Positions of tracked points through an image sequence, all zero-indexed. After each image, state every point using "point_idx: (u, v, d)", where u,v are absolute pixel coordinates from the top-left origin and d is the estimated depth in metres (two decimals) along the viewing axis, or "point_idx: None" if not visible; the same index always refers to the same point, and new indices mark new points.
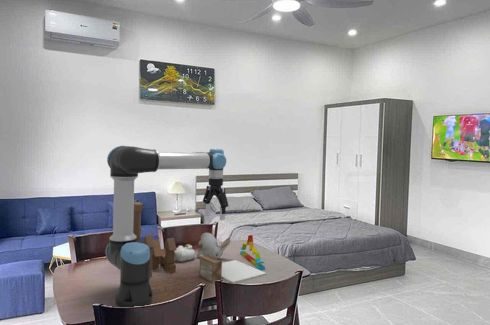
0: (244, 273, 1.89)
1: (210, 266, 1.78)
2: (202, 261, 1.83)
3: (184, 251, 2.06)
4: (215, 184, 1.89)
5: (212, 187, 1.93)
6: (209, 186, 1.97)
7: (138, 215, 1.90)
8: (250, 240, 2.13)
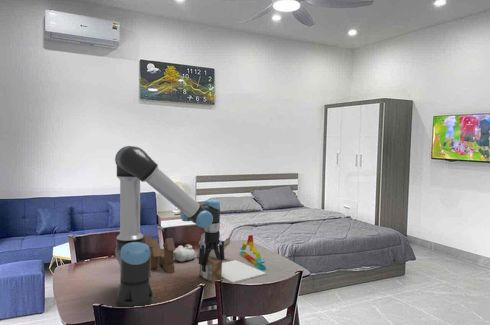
0: (244, 273, 1.89)
1: (210, 266, 1.78)
2: None
3: (184, 251, 2.06)
4: None
5: None
6: (220, 240, 1.86)
7: None
8: (250, 240, 2.13)
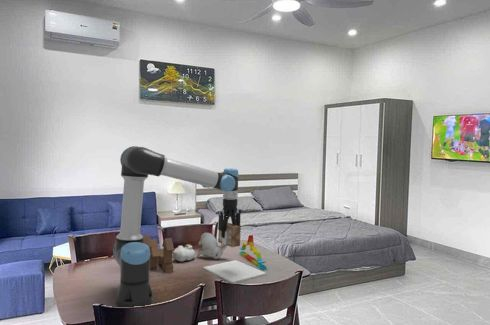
0: (244, 273, 1.89)
1: (229, 231, 1.84)
2: None
3: (184, 251, 2.06)
4: None
5: None
6: (237, 209, 1.92)
7: None
8: (250, 240, 2.12)
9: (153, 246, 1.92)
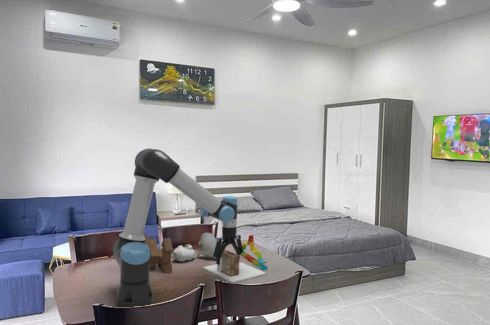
0: (244, 273, 1.89)
1: (228, 260, 1.85)
2: None
3: (184, 251, 2.06)
4: (222, 231, 1.89)
5: None
6: (236, 235, 1.93)
7: None
8: (251, 240, 2.12)
9: (152, 246, 1.92)
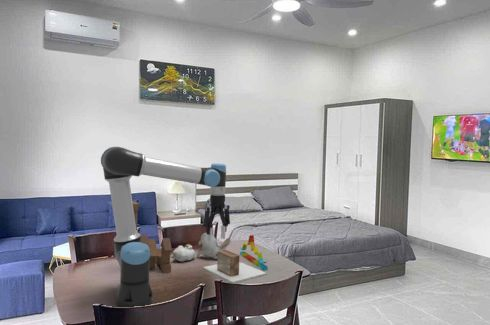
0: (244, 273, 1.89)
1: (228, 260, 1.85)
2: (220, 256, 1.90)
3: (184, 251, 2.06)
4: (210, 200, 1.83)
5: None
6: (225, 205, 1.87)
7: (134, 215, 1.91)
8: (251, 240, 2.12)
9: (151, 246, 1.93)
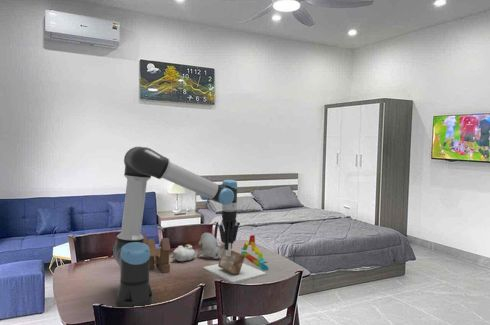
0: (244, 273, 1.89)
1: (233, 257, 1.87)
2: (225, 252, 1.92)
3: (184, 251, 2.06)
4: (222, 216, 1.88)
5: None
6: (236, 221, 1.92)
7: None
8: (252, 240, 2.13)
9: (150, 246, 1.93)
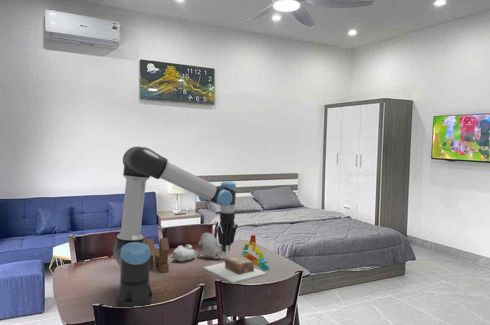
0: (244, 273, 1.89)
1: (247, 260, 1.93)
2: (240, 257, 1.99)
3: (184, 251, 2.06)
4: (220, 217, 1.87)
5: None
6: (234, 223, 1.91)
7: None
8: (253, 240, 2.13)
9: (149, 246, 1.93)
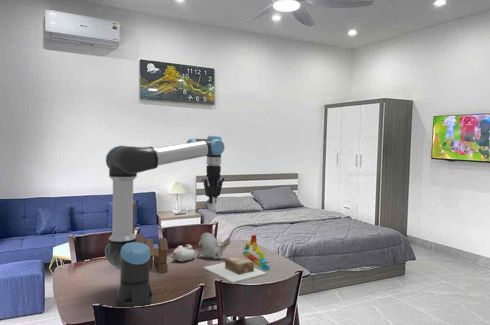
0: (244, 273, 1.89)
1: (247, 260, 1.93)
2: (240, 257, 1.99)
3: (184, 251, 2.06)
4: None
5: None
6: (221, 177, 1.96)
7: None
8: (254, 240, 2.13)
9: (148, 246, 1.93)
